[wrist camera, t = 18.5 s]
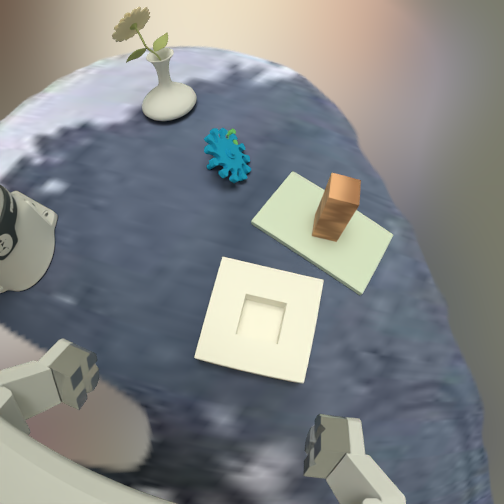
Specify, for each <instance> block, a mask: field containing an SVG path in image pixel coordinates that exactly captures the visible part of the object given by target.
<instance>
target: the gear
mask: <svg viewBox="0 0 504 504" xmlns="http://www.w3.org/2000/svg"><path fill="white" fill-rule="evenodd" d="M235 133H236V131H235V130H234V129H231V130H230V131H227V130H226V129H224V128H222V129H220V130H219V131H218V129H216V128H214V129H212V130H210V134H209V135H207V136H206V137H205V138H204V140H205V141H206V142H207V143H208V145H207V146H205V148H204V152H205V153H206V154H210V155H213V156H214V157H215V158H212V159H211V160H209V164H208V165H207V169H209V170H211V169H212V168H214V167H215V166H217V165H221V166H223V168H224V169H222V170H220V171H219V172H218V173H219V175H220V176H221V177H222V178H225V177H227V176H228V172H229V170H230V171H231V173H232V176H230V177H229V180H230V181H231V182H233V183H236V182H238V181H239V180H240V181H243V180H245V179H247V176H246V174H247V173H249V172H250V171H251V168H250V167H249V166H248V165H246V164H247V163H248V162H250V157H249V156H248V155H244V154H243V153H241V152H242V151H244V150H245V146H244V144H243V143H241V144H240V145H238V142H237V137H236V135H235ZM218 134H220V138H219V136H218ZM226 134H227V136H228V137H225V135H226ZM209 144H210V145H209ZM237 171H238V173H239V175H237Z"/></svg>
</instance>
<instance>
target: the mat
mask: <svg viewBox="0 0 504 504" xmlns="http://www.w3.org/2000/svg"><path fill="white" fill-rule="evenodd" d="M324 191H325V190H323V189H322V188H320V187H318V186H317V185H315V184H313V183H312V182H310V181H308V180H307V179H305V178H303V177H302V176H300V175H298V174H296V173H295V172H293V171H292V172H291V174H290V175H289V176H288V177H287V178H286V180H285V181H284V182H283V183H282V184H281V186H280V187H279V188H278V189H277V191H276V192H275V193H274V194H273V195H272V197H271V198H270V199H269V200H268V201H267V203H266V204H265V205H264V206H263V207H262V209H261V210H260V211H259V212H258V214H257V215H256V216H255V217H254V218H253V220H252V221H251V224H252V225H254V226H255V227H257V228H258V229H260V230H261V231H263V232H265V233H266V234H268V235H269V236H271V237H272V238H274V239H275V240H277V241H278V242H280V243H282V244H283V245H285V246H286V247H288V248H289V249H291V250H292V251H294V252H295V253H297V254H298V255H300V256H301V257H303V258H304V259H306V260H308V261H309V262H311V263H312V264H314V265H315V266H317V267H318V268H320V269H321V270H323V271H324V272H326V273H327V274H329V275H330V276H332V277H333V278H335V279H336V280H338V281H339V282H341V283H342V284H344V285H345V286H347V287H348V288H350V289H351V290H353V291H354V292H356V293H357V294H359V295H361V294H362V293H363V292H364V290H365V288H366V286H367V284H368V283H369V281H370V279H371V277H372V275H373V273H374V271H375V270H376V268H377V266H378V264H379V262H380V260H381V258H382V256H383V254H384V252H385V250H386V248H387V246H388V244H389V242H390V240H391V238H392V236H393V234H391V233H390V232H388V231H387V230H385V229H384V228H382V227H381V226H379V225H378V224H376V223H375V222H373V221H372V220H370V219H369V218H367V217H366V216H364V215H363V214H361V213H360V212H358V211H357V210H356V211H355V213H354V215H353V216H352V218H351V219H350V221H349V223H348V224H347V226H346V228H345V229H344V231H343V232H342V234H341V236H340V237H339V239H338V240H337V242H335V241H330V240H326V239H322V238H318V237H314V236H312V231H313V225H314V218H315V213H316V211H317V208H318V206H319V203H320V201H321V198H322V196H323V194H324Z"/></svg>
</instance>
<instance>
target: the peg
mask: <svg viewBox="0 0 504 504" xmlns="http://www.w3.org/2000/svg"><path fill="white" fill-rule="evenodd" d="M360 184H361V180H358V179H354V178H350V177H347V176H343V175H339V174H335V173H331V176H330V178H329V181H328V183H327V186H326V189H325V191H324V194H323V196H322V198H321V201H320V203H319V206H318V208H317V211H316V213H315V218H314V225H313V231H312V236H314V237H318V238H322V239H326V240H330V241H335V242H337V240H338V239H339V237H340V236H341V234H342V232H343V231H344V229H345V228H346V226H347V224H348V223H349V221H350V219H351V218H352V216H353V215H354V213H355V211H356V210H357V208H358V206H359V200H360Z"/></svg>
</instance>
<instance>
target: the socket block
mask: <svg viewBox="0 0 504 504" xmlns="http://www.w3.org/2000/svg"><path fill="white" fill-rule="evenodd" d="M323 281H324V280H321V279H317V278H313V277H308V276H304V275H299V274H295V273H291V272H286V271H282V270H278V269H273V268H269V267H265V266H260V265H256V264H252V263H247V262H243V261H239V260H235V259H230V258H226V257H222V261H221V264H220V268H219V271H218V275H217V278H216V282H215V285H214V289H213V292H212V296H211V299H210V303H209V306H208V310H207V313H206V317H205V321H204V324H203V328H202V331H201V335H200V339H199V342H198V346H197V350H196V353H195V357H194V358H196V359H198V360H201V361H205V362H209V363H213V364H216V365H220V366H224V367H228V368H232V369H236V370H240V371H244V372H249V373H253V374H258V375H262V376H267V377H271V378H276V379H281V380H286V381H291V382H296V383H304V379H305V375H306V370H307V366H308V361H309V356H310V351H311V346H312V341H313V336H314V331H315V326H316V320H317V315H318V310H319V304H320V298H321V293H322V287H323Z"/></svg>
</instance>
